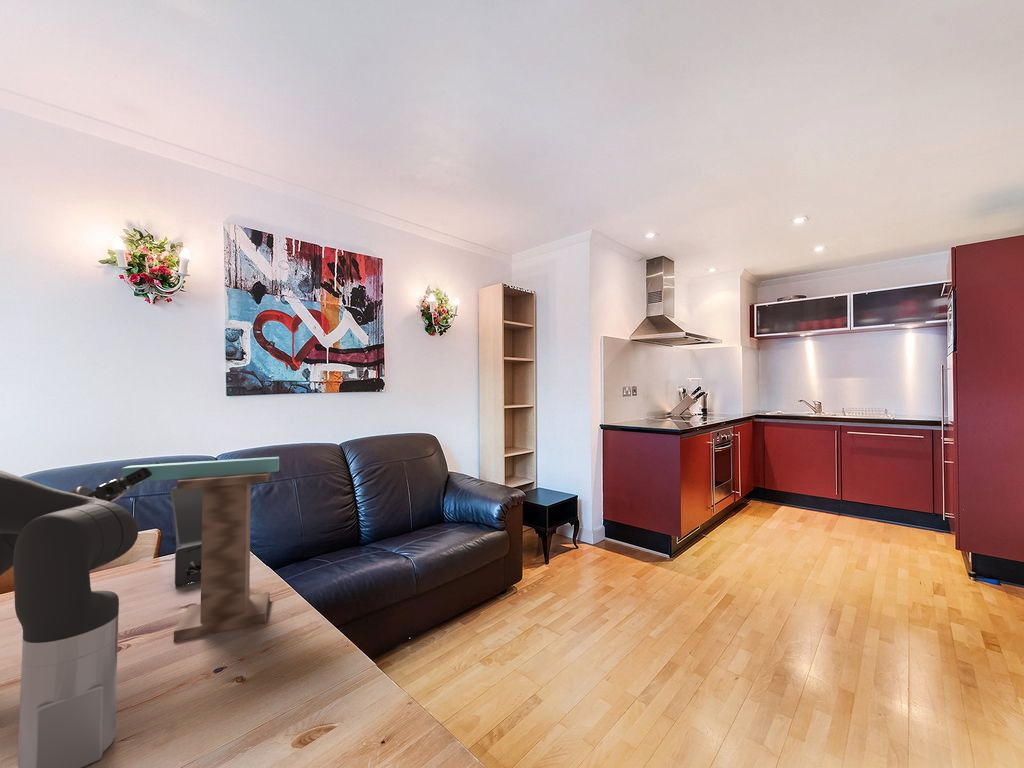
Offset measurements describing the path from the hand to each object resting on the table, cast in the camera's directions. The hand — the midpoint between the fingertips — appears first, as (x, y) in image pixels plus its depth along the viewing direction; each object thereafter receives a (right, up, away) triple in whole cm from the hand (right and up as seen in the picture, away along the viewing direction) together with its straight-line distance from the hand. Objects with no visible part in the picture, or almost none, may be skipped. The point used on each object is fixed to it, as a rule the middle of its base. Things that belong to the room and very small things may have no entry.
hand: (156, 467), depth 91 cm
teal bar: (+8, -2, +4) cm, 9 cm away
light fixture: (-15, -36, +30) cm, 50 cm away
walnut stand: (+12, -34, +4) cm, 37 cm away
